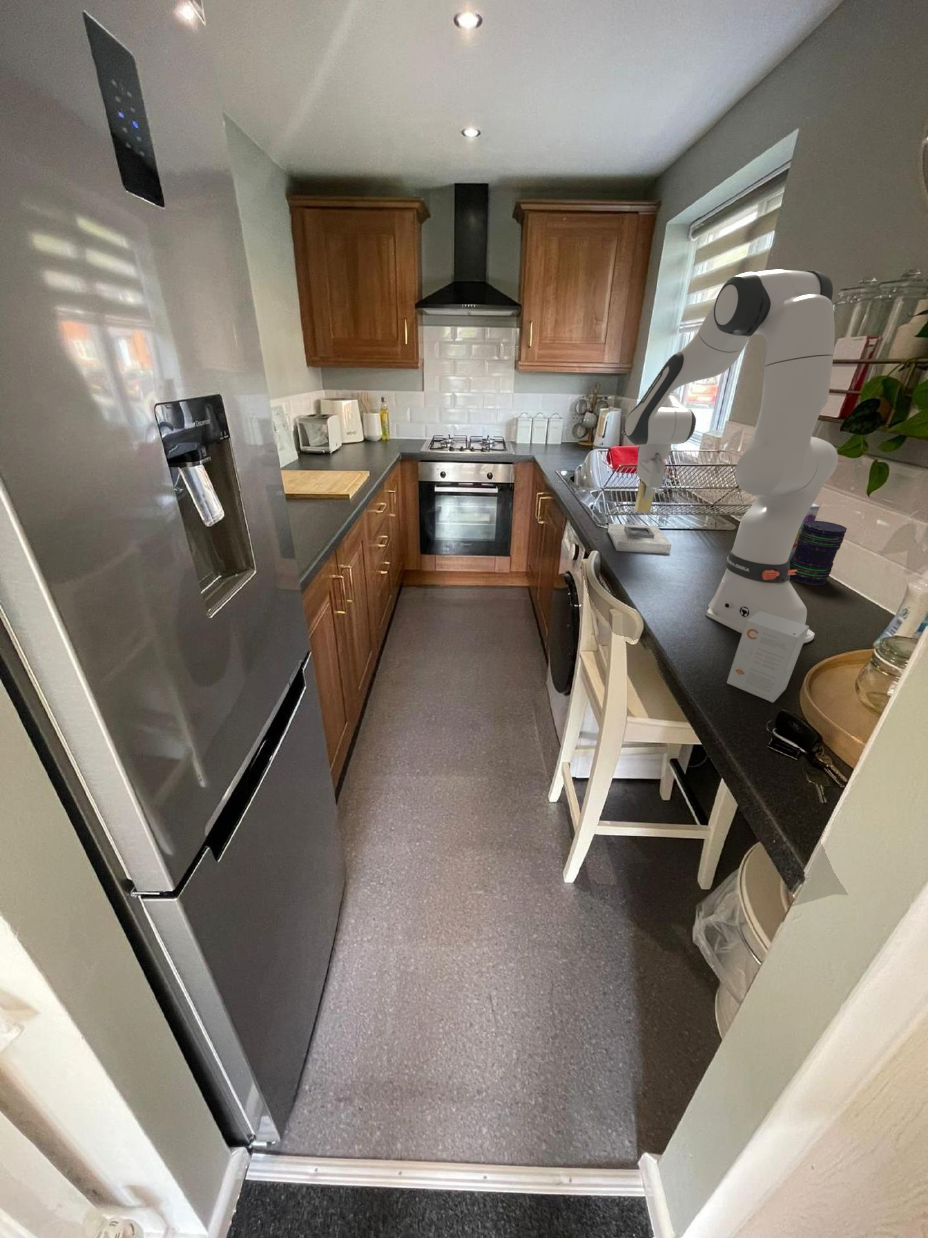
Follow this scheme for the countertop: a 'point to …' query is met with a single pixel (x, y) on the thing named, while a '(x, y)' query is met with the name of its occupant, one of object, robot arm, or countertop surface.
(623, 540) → the grey socket base
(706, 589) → the countertop surface
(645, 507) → the yellow tall rectangular block
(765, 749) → the countertop surface
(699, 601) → the countertop surface
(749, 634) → the small box
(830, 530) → the storage jar
